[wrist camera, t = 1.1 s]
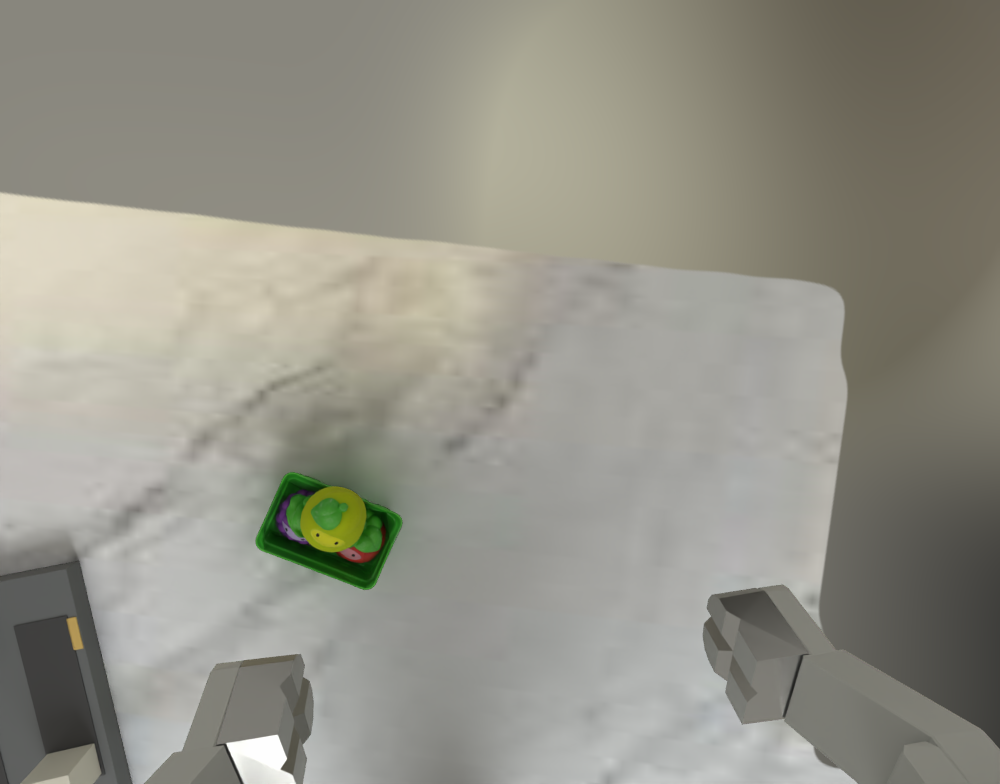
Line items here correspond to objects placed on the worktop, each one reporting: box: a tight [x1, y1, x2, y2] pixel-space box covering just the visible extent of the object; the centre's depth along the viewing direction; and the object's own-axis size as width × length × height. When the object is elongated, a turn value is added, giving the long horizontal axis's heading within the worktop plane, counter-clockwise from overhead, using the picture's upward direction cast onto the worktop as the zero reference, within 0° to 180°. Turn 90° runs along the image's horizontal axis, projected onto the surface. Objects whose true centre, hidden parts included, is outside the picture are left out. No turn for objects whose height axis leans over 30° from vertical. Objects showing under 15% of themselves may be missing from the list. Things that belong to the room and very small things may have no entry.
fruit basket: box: [256, 472, 402, 590], centre depth 51 cm, size 11×9×11 cm
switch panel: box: [0, 561, 132, 784], centre depth 53 cm, size 24×14×2 cm, turn 9°
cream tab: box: [20, 743, 101, 784], centre depth 51 cm, size 3×4×4 cm
